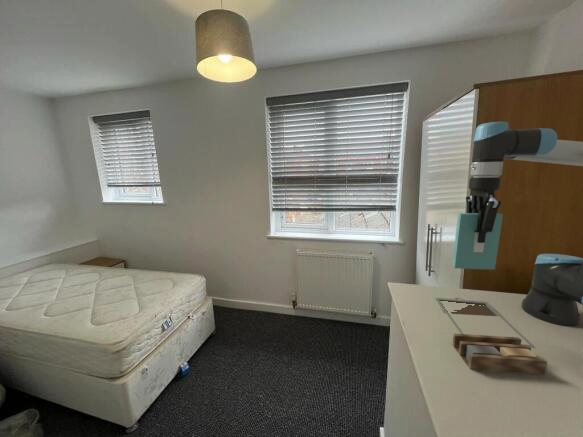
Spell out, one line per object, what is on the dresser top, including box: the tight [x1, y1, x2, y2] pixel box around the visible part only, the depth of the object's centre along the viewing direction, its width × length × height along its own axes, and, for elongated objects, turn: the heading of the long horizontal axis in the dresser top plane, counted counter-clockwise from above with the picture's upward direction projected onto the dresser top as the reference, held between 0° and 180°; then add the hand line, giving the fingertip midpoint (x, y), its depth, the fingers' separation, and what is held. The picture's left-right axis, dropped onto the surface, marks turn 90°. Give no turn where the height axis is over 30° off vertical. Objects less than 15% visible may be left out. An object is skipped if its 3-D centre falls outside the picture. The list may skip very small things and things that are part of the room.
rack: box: [451, 333, 548, 376], centre depth 70 cm, size 18×9×5 cm, turn 83°
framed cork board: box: [434, 297, 537, 349], centre depth 90 cm, size 19×2×30 cm
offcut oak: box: [500, 347, 538, 358], centre depth 67 cm, size 7×3×4 cm, turn 83°
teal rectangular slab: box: [451, 212, 504, 270], centre depth 79 cm, size 12×2×18 cm, turn 83°
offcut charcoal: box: [466, 345, 502, 361], centre depth 69 cm, size 7×3×4 cm, turn 83°
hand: (475, 250), depth 79 cm, fingers closed on teal rectangular slab, 2 cm apart
